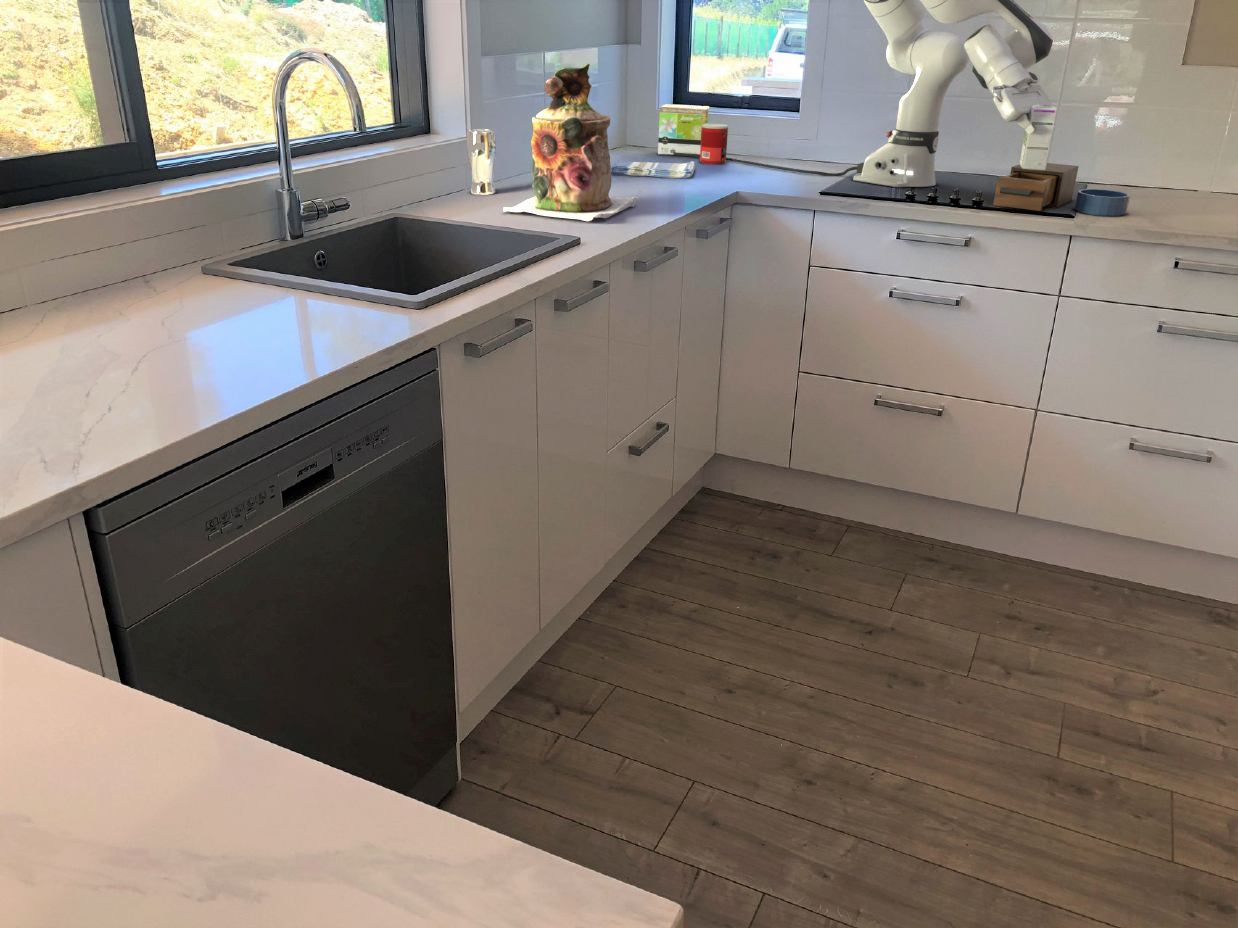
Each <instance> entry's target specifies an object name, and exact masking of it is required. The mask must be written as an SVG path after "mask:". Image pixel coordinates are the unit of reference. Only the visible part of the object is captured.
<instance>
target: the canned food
mask: <svg viewBox="0 0 1238 928" xmlns="http://www.w3.org/2000/svg"><path fill="white" fill-rule="evenodd" d="M728 134H729V126H728V124H722V123H708V124H702V128H701V147H700V157H699V161H700V163H702V164H705V165H723V164H726V161H727V160H726V158H727V150H728V149H727V148H728V137H729V135H728Z"/></svg>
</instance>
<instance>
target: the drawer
mask: <svg viewBox="0 0 1238 928" xmlns="http://www.w3.org/2000/svg"><path fill="white" fill-rule="evenodd" d="M1057 181H1058V176H1054V175H1045V174H1035V173H1026V172H1015V173H1013V174H1010V173H1009V174H1008V175H1005V176H1003V175H999V176H997V181H996V186H995V192H994V197H993V199H994V200H993V203H992V205H993V206H997V207H1005V208H1014V209H1020V210H1022V209H1023V210H1029V211H1037V212H1042V211H1043V208H1044V206H1046V205H1048V204H1050V203H1052V202H1053V201H1054V196H1055V191H1056V186H1057Z"/></svg>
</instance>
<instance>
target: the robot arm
mask: <svg viewBox="0 0 1238 928" xmlns="http://www.w3.org/2000/svg"><path fill="white" fill-rule="evenodd" d="M863 2H864V4H865V6H866V7H867V9H868V11H869V13H870V14H871V15H872V17H873V18H874V20H875V21H876V23H877V24H878V26H879V27H880V28H881V30H882V32H883V33H884V35H885V37H886V40H887V42H888V44H887V47H886V52H885V54H886V55H885V57H886V62H887V64H888V65H889V67H890V68H891V69H893V70H895V71H897V72H900V73H902V74H904V75H911V76H915V78H914V81H913V83H912V85H911V87H910V89H909V90H908V91H907V92H906V93H904V94H903V95H902V96H901V98H900V99H899V102H898V109H897V117H896V124H895V128H894V129H892V130H890V131H888V132H886V138H887V142H886V143H885V144H884V145H882V146H881V147H879V148H878V149H876V150H874V151H873V152H871V153H870V154H869V155H868V156H867V157H866V158H865V160H864V161H863V162H859V163H857V166H851V167H848V168H846V169H845V170H843V171H842V172H825V171H817V170H807V169H799V168H793V167H786V166H779V165H773V164H766V163H763V162H756V161H751V160H744V159H738V158H732V157H726V161H730V162H736V163H741V164H746V165H753V166H758V167H764V168H768V169H769V168H770V169H775V170H781V171H787V172H795V173H802V174H811V175H819V176H824V177H825V176H826V177H827V176H829V177H841V176H844V175H846V174H847V173H849V172H850V171H856V174H854V175H853V178H852V180H853V181H856V182H863V183H870V184H875V185H880V186H881V185H882V186H888V187H893V188H924V187H933V186H936V185H937V182H936V172H935V171H936V169H935V168H936V167H935V165H936V164H935V159H936V158H935V157H936V153H937V150H938V145H939V135H940V134H939V133H940V132H939V130H938V129H939V123H940V117H941V112H942V108H943V107H942V106H943V103H944V100H945V96H946V94H947V92H948V90H949V87H950V86H951V84H952V83H953V81H954V79H956V77H957V76H958V75H960V74H961V73H962V72H963V71H964V70H965V69H966V67H967V65H968V63H969V62H970V63H971V64H972V71H971V72H972V73H973V74H974V76H975V77H976V79H977V80H978V82H979V84H980V85H981V87H982V89H983V88H984V89H986V90H989V92H990V93H991V95H992V97H993V103H994V105H995V107H996V108H997V110H998V112H999V114H1000V116H1001V117H1002V118H1003V120H1004V121H1005V122H1007V123H1012V122H1016V123H1017V125H1018V126H1019V127H1021V128H1022V129H1024V132H1025V131H1026V132H1027V134H1033V133H1034V132H1035V131H1036V130H1037V129H1036V127H1035V126H1034V124H1031V122H1030V121H1029V120H1028V114H1029V113H1031V107H1032V106H1033V105H1051V106H1053V103H1052V101H1051V99H1050V97H1049V96H1048V94H1047V92H1046V90H1045V89H1044V88H1043V86H1042V85H1041V84H1040V83H1039V82H1040V78H1039V77H1038V75H1037V74H1035V73H1033V72H1031V71H1029V70H1028V69H1030V68H1031V67H1032V66H1034V65H1035V64H1038V63H1039V62H1041V61H1042V60H1044V59H1045V58H1047V57H1048V56H1049V55H1050V52H1051V50H1052V47H1053V44H1054V43H1053V42H1054V40H1053V37H1052V34H1051V32H1050V30H1049V29H1048V28H1047V27H1046V26H1045V24H1043V23H1042V22H1040V21H1039V20H1037V19H1035V18H1034V17H1033V16H1031V15H1030V14H1029V13H1028V12H1027V11H1025V10H1024V9H1023V8H1022V7H1021V6H1020V5H1019V4H1018V3H1016V2H1015V0H863ZM925 10H926V12H928V13H929V14H930V16H931V17H932V18H933V19H934V20H936V21H937V22H938V23H941V24H947V25H954V24H959V23H963V22H966V21H969V20H970V19H973V18H975V17H978V16H981V15H984V14H989V13H995V14H997V15H999V16H1001V17H1002V18H1003V19H1004V20H1005V21H1006V22H1007V23H1008V24H1010V25H1011V26H1012V27H1013V28H1014V29H1013V30H1012V31H1011V32H1010V33H1009V34H1007V36H1005V37H1003V36H1002V35H1001V33H999V32H998V30H996V29H997V28H995V27H994V26H993V25H991V24H986V25H983V26H981V27H980V28H978V29H977V30H976V31H974V32H973V33H972V34H971V35H969V37H967V38H965V37H963V36H961V35H958V34H955V33H953V32H950V31H933V30H929V29H927V27H925V25H924V24H923V22H922V21H923V18H924V15H925ZM673 156H681V157H693V158H700V154H688V153H673Z"/></svg>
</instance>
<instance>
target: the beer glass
mask: <svg viewBox="0 0 1238 928" xmlns="http://www.w3.org/2000/svg"><path fill="white" fill-rule="evenodd" d="M495 132H496V131H495V130H494V129H490V128H489V129H487V128H473V129H472V128H471V129H468V130H467V157H468V162H469V167H470V171H471V189H470V190H471V191H470V192H471V194H472V195H478V196H487V195H488V196H489V195H494V194H496V187H495V182H494V181H495V180H494V172H495V165H496V157H497V156H496V155H497V141H496V133H495Z"/></svg>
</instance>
